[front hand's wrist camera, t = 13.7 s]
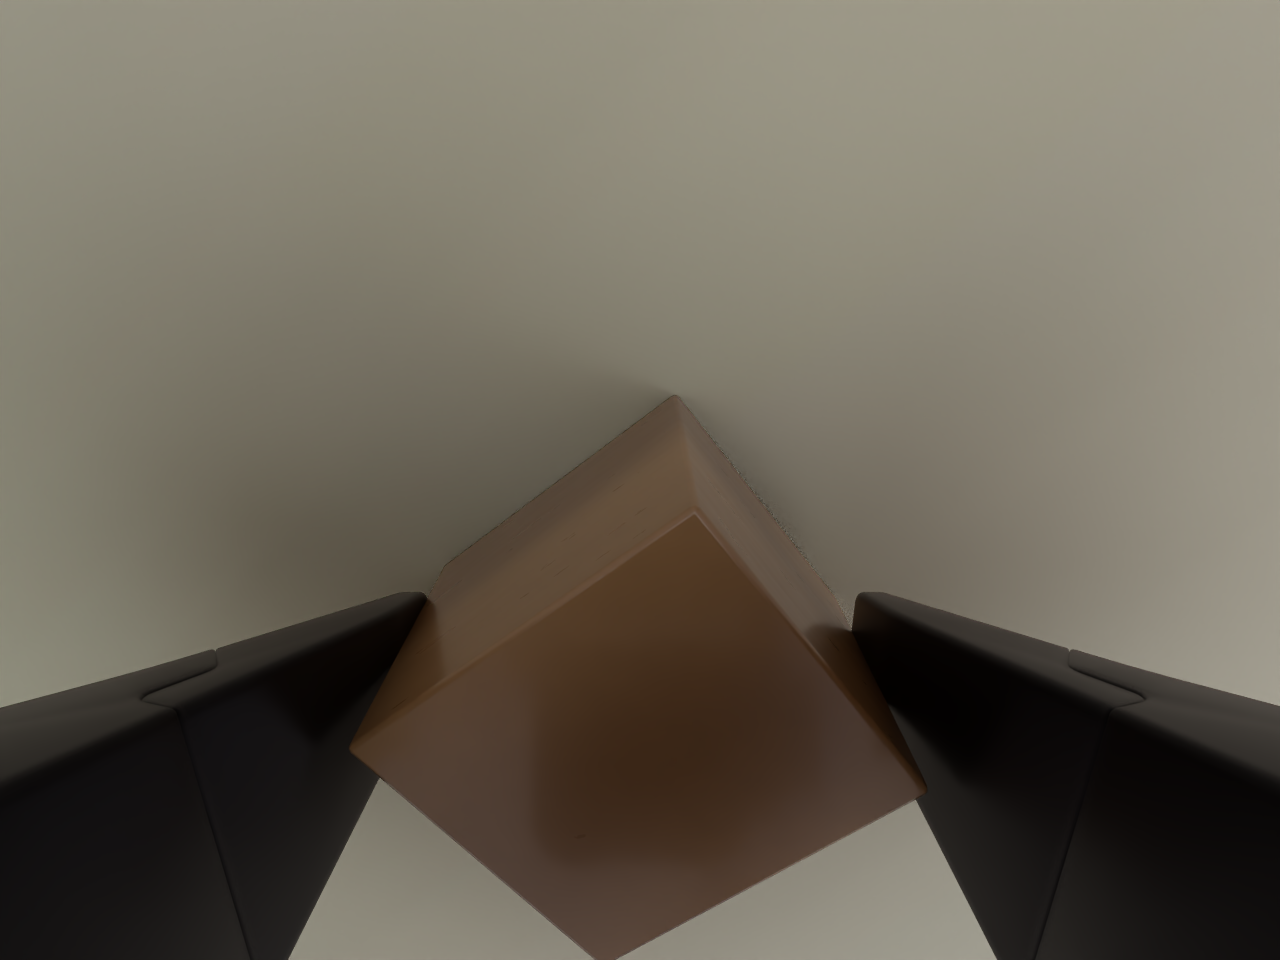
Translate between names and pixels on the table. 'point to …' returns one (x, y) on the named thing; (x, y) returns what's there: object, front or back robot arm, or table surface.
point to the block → (637, 697)
